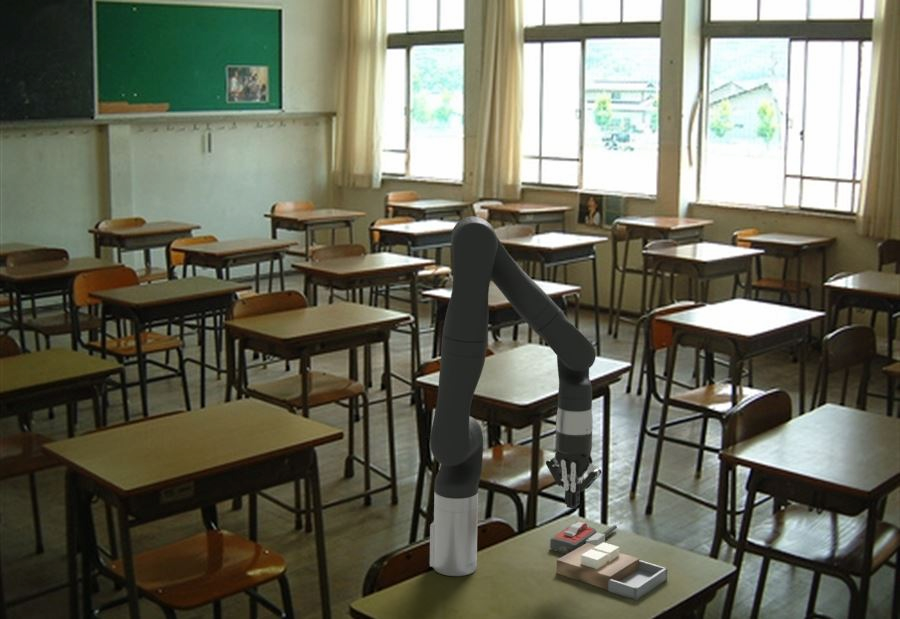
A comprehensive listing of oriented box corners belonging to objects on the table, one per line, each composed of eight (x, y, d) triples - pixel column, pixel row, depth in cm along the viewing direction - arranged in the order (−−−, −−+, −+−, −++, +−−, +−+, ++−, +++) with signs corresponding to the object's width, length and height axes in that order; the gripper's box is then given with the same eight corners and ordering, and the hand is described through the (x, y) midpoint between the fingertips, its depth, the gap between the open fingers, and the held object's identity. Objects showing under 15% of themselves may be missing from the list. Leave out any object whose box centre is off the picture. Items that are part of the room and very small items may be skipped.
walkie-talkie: (580, 561, 248) (619, 533, 264) (581, 542, 247) (620, 515, 263) (545, 552, 252) (585, 524, 269) (545, 533, 252) (586, 507, 268)
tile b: (593, 556, 242) (593, 547, 242) (603, 550, 245) (603, 542, 245) (609, 561, 240) (609, 552, 239) (619, 555, 243) (619, 547, 242)
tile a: (580, 563, 238) (581, 554, 238) (590, 558, 241) (591, 549, 241) (597, 569, 236) (597, 560, 236) (607, 563, 239) (607, 554, 239)
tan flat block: (556, 573, 241) (556, 559, 240) (586, 555, 250) (586, 542, 249) (609, 590, 233) (610, 576, 232) (638, 571, 242) (639, 558, 242)
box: (608, 591, 232) (608, 579, 232) (639, 571, 242) (640, 560, 242) (636, 600, 229) (636, 588, 228) (666, 579, 238) (667, 568, 238)
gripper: (537, 426, 238) (536, 504, 241) (591, 438, 230) (589, 519, 233) (557, 418, 244) (555, 495, 247) (610, 430, 236) (608, 509, 239)
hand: (572, 507), depth 240 cm, fingers closed
